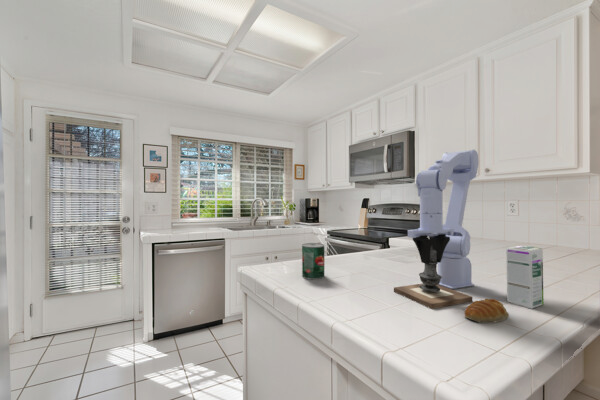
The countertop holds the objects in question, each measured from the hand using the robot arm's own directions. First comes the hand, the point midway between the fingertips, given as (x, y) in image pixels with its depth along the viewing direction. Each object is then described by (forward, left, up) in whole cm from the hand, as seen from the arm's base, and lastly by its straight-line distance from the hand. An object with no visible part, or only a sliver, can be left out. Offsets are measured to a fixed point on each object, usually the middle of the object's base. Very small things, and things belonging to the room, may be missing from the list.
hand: (431, 262), depth 80 cm
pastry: (-1, +15, -10) cm, 18 cm away
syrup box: (-18, +13, -10) cm, 24 cm away
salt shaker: (0, -1, -8) cm, 8 cm away
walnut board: (0, 0, -9) cm, 9 cm away
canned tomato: (+22, -31, -10) cm, 39 cm away
